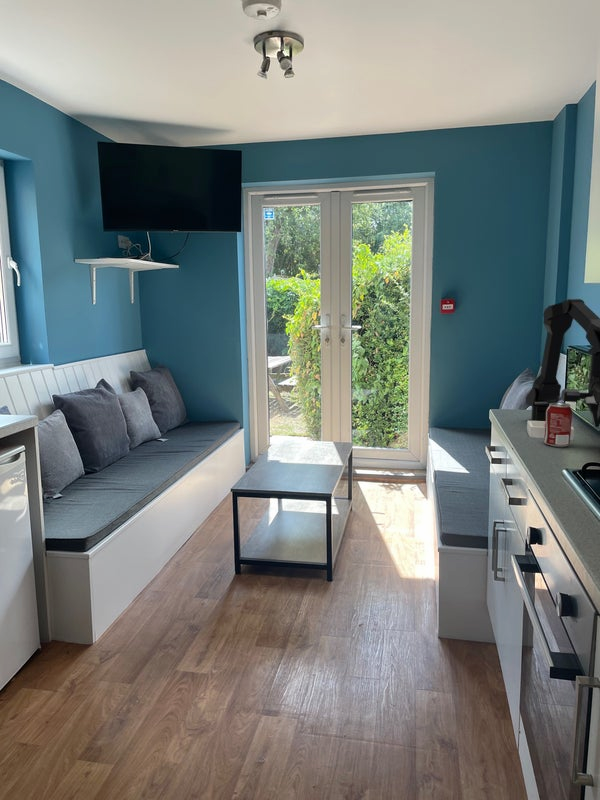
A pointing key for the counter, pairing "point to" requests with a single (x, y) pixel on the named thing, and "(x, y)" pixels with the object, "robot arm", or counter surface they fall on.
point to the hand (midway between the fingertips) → (596, 426)
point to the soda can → (558, 425)
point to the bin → (540, 429)
